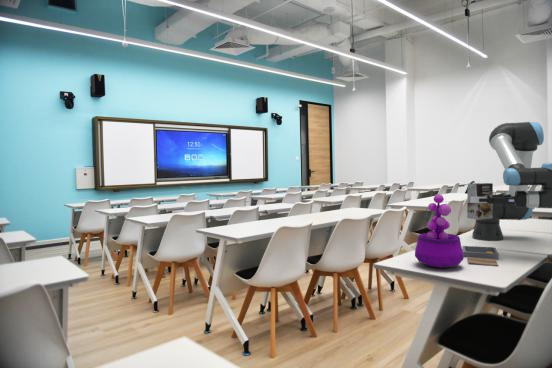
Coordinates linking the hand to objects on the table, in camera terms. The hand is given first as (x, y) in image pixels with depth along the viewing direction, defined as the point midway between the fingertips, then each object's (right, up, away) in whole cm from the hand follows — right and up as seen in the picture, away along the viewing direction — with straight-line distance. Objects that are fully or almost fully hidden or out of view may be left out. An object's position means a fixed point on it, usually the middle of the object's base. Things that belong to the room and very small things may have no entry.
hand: (469, 198), depth 183 cm
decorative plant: (-21, -28, -17) cm, 39 cm away
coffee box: (+4, -9, -1) cm, 10 cm away
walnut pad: (-1, -27, -13) cm, 30 cm away
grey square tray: (+5, -26, 0) cm, 26 cm away
